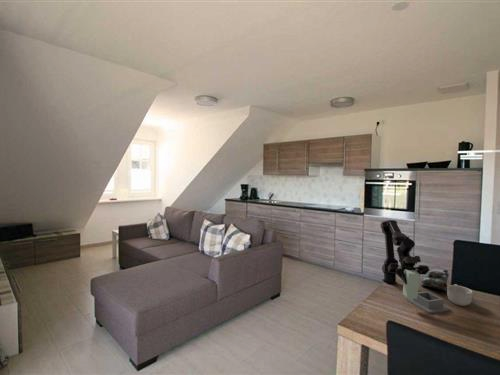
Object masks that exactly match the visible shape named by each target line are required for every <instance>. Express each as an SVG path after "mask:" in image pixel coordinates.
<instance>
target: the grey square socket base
mask: <svg viewBox="0 0 500 375" xmlns="http://www.w3.org/2000/svg"><path fill="white" fill-rule="evenodd" d="M405 300H406V301H407V302H408V303H409V304H411V305H413V306H415V307H417V308H418V309H420V310H422V311H423V312H425V313H427V314H429V315H431V314H437V313H444V312H449V311H451V310H452V309H451V307H449V306H447V305H445V304H444V299H443V298H442V297H440V296H438V295H436V294H434V293H432V292H429V291H418V296H417V299H414V298H406V299H405Z"/></svg>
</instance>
